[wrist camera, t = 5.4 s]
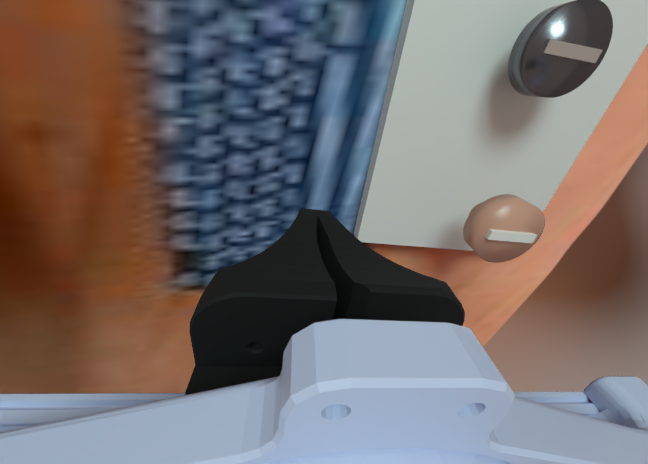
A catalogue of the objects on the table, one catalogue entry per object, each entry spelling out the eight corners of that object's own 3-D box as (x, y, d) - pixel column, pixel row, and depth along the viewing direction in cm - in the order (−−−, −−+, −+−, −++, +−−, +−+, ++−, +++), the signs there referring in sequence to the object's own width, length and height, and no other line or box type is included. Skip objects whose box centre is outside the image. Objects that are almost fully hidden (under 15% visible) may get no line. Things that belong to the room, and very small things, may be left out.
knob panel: (506, 245, 27) (516, 254, 25) (353, 233, 24) (356, 241, 23) (658, -15, 17) (688, -22, 15) (424, -75, 14) (436, -90, 13)
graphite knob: (538, 99, 18) (582, 103, 15) (480, 89, 17) (515, 91, 15) (578, 18, 16) (638, 5, 13) (513, 4, 15) (562, -13, 12)
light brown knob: (494, 241, 21) (525, 267, 18) (443, 236, 20) (466, 263, 17) (523, 189, 19) (563, 209, 16) (466, 182, 18) (497, 202, 15)
